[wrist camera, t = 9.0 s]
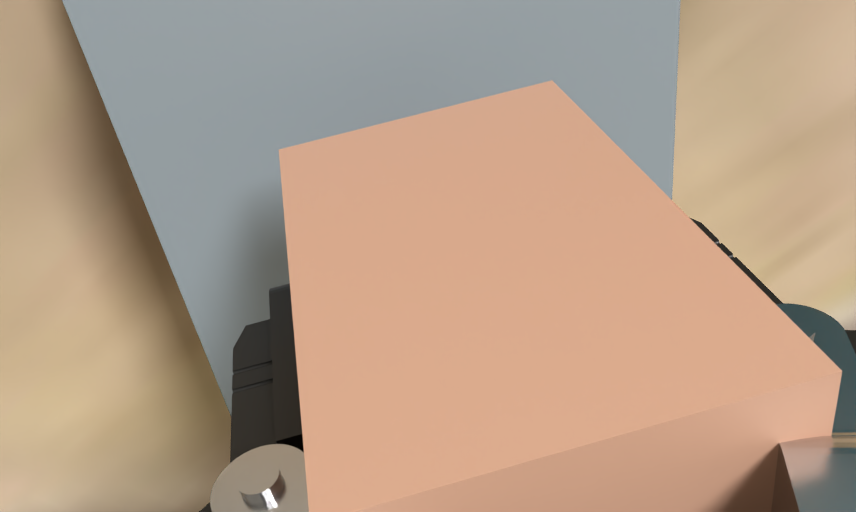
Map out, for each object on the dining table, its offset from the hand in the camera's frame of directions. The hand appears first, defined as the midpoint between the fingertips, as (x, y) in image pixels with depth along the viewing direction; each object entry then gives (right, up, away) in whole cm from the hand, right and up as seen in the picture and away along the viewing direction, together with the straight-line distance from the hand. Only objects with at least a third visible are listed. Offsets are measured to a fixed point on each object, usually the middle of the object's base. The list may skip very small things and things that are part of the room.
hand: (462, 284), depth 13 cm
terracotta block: (0, +1, +2) cm, 2 cm away
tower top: (-1, +5, +7) cm, 9 cm away
